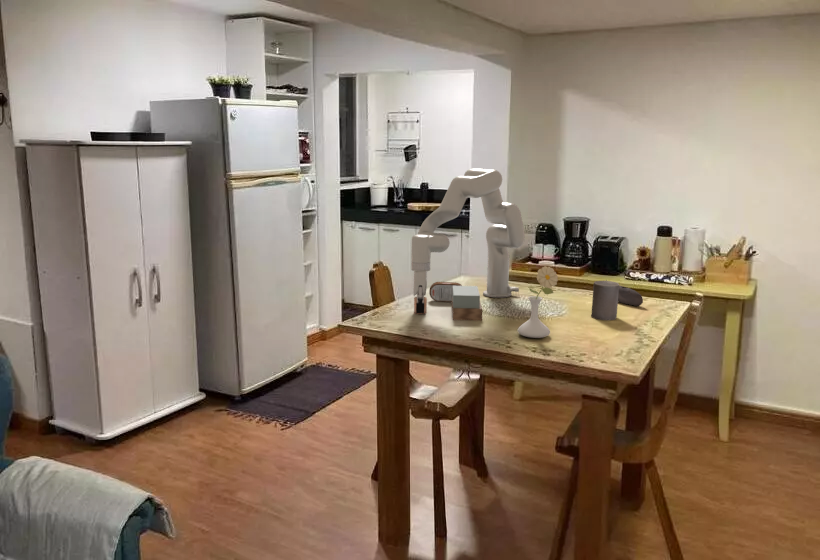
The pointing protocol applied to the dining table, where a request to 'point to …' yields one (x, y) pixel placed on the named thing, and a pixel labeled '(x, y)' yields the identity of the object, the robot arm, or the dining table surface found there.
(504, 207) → the robot arm
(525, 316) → the dining table surface
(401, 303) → the dining table surface
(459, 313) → the tower base
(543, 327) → the flower in vase
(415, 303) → the column
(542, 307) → the dining table surface
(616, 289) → the pillar candle
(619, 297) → the perforated stone tool
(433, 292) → the tin
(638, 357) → the dining table surface
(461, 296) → the tower top
